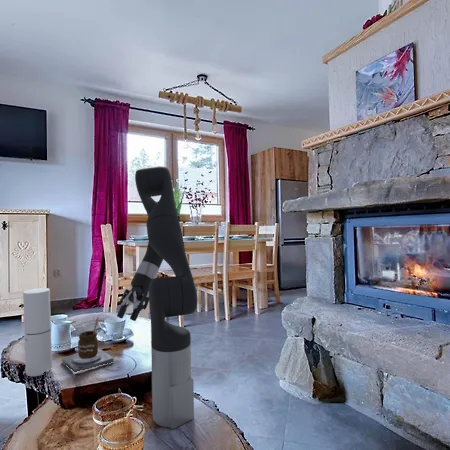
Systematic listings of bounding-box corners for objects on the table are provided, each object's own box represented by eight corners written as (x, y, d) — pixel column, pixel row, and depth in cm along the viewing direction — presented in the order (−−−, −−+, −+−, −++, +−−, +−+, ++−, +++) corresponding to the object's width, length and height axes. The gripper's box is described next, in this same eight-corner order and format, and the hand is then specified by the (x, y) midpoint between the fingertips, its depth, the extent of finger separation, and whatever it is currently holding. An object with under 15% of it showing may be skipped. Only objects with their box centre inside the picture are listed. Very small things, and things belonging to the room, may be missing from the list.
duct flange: (113, 362, 108) (113, 355, 108) (75, 375, 100) (74, 366, 100) (98, 351, 117) (98, 344, 117) (62, 362, 109) (62, 354, 109)
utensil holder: (81, 351, 111) (80, 316, 111) (101, 350, 112) (100, 315, 112) (75, 359, 105) (74, 321, 105) (96, 358, 106) (95, 320, 106)
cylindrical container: (40, 377, 100) (38, 293, 99) (20, 375, 101) (17, 292, 100) (57, 366, 106) (55, 288, 106) (37, 364, 108) (35, 287, 107)
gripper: (126, 271, 126) (106, 312, 119) (148, 272, 117) (128, 316, 109) (141, 280, 131) (123, 320, 123) (164, 281, 121) (145, 325, 114)
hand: (125, 318), depth 116 cm, fingers open, 8 cm apart
